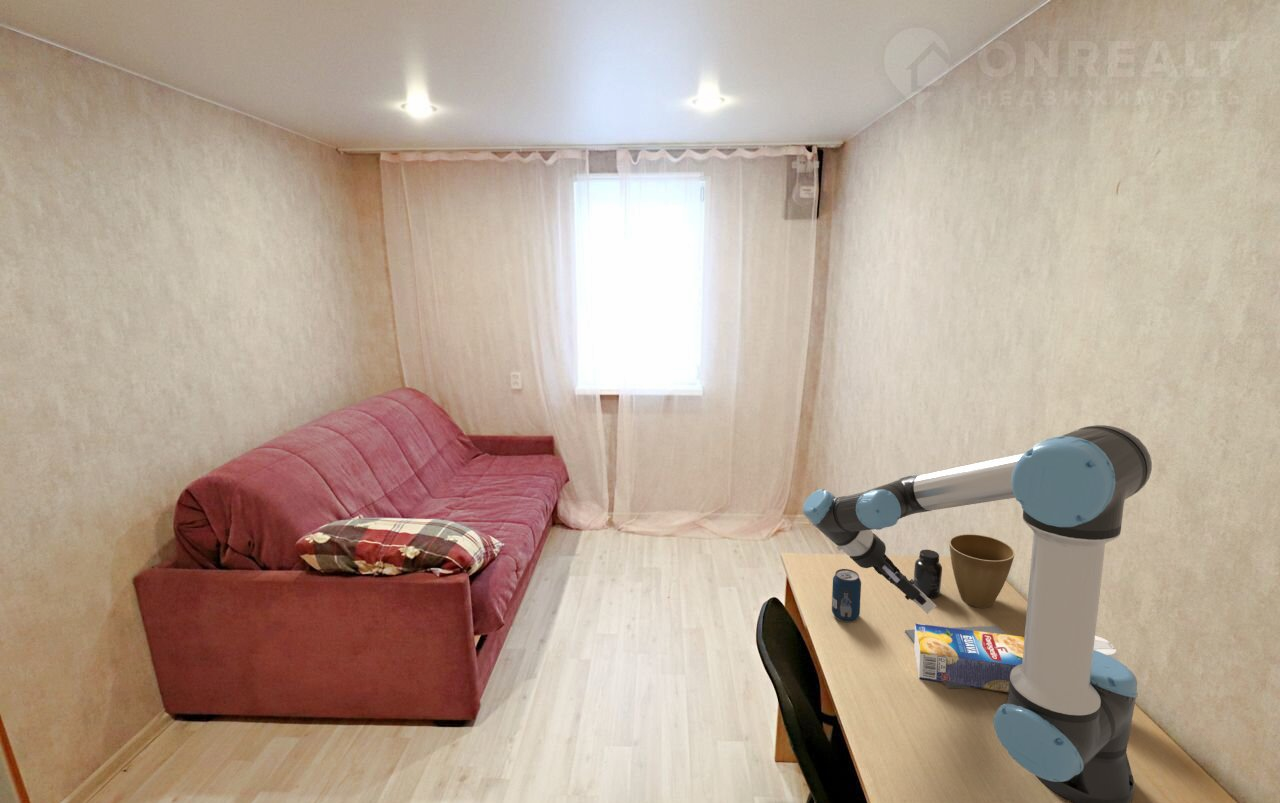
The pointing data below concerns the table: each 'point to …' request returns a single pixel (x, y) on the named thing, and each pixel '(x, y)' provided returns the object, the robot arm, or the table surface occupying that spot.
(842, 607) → the soda can
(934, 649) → the beverage box
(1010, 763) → the table surface
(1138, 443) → the robot arm
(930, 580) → the supplement bottle
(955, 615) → the table surface
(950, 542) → the plant pot
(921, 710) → the table surface
